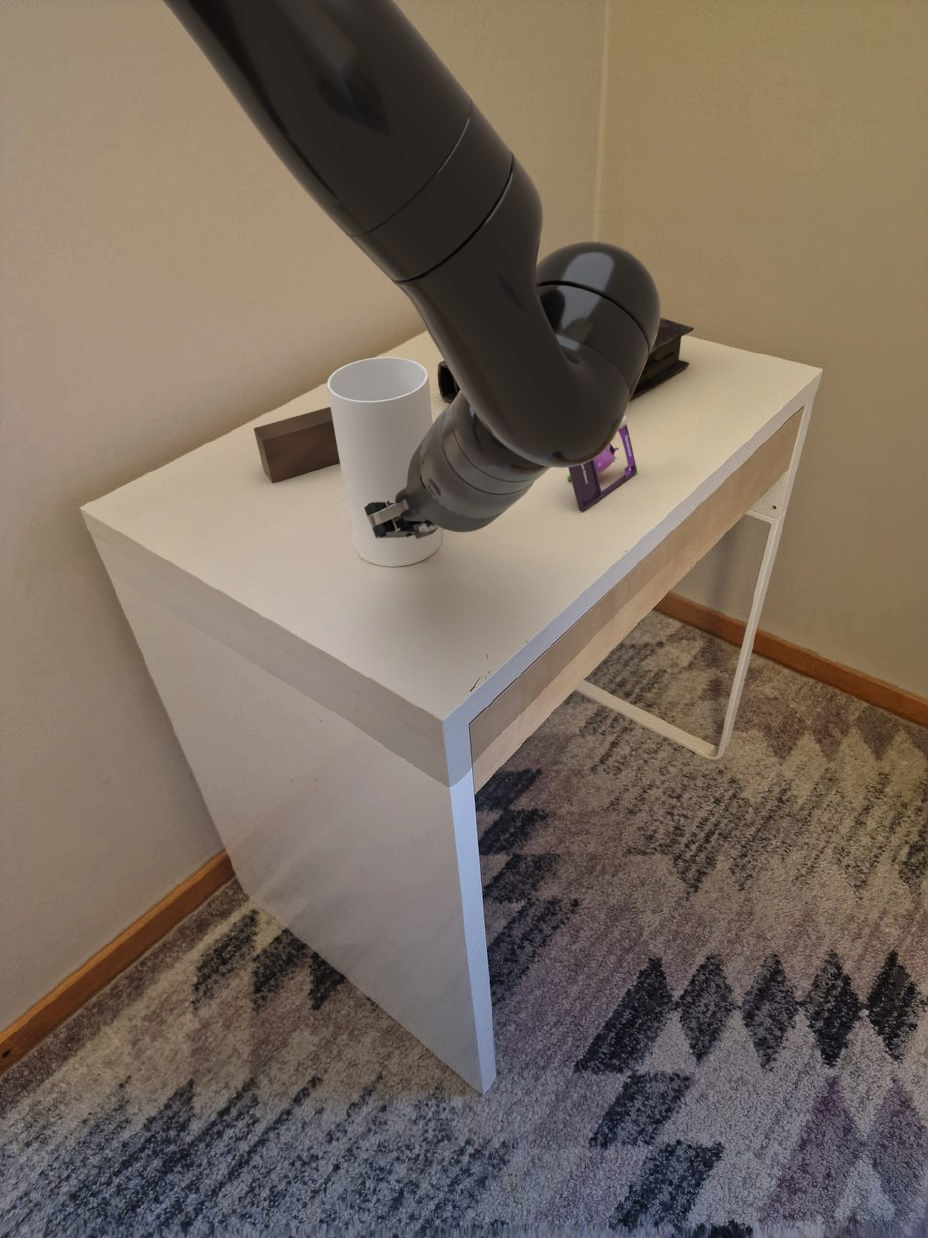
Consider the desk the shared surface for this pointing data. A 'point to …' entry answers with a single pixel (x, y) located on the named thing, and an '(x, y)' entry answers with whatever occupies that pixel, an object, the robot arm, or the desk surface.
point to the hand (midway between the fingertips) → (419, 525)
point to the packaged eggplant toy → (588, 473)
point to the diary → (655, 372)
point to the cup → (380, 446)
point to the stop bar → (297, 444)
